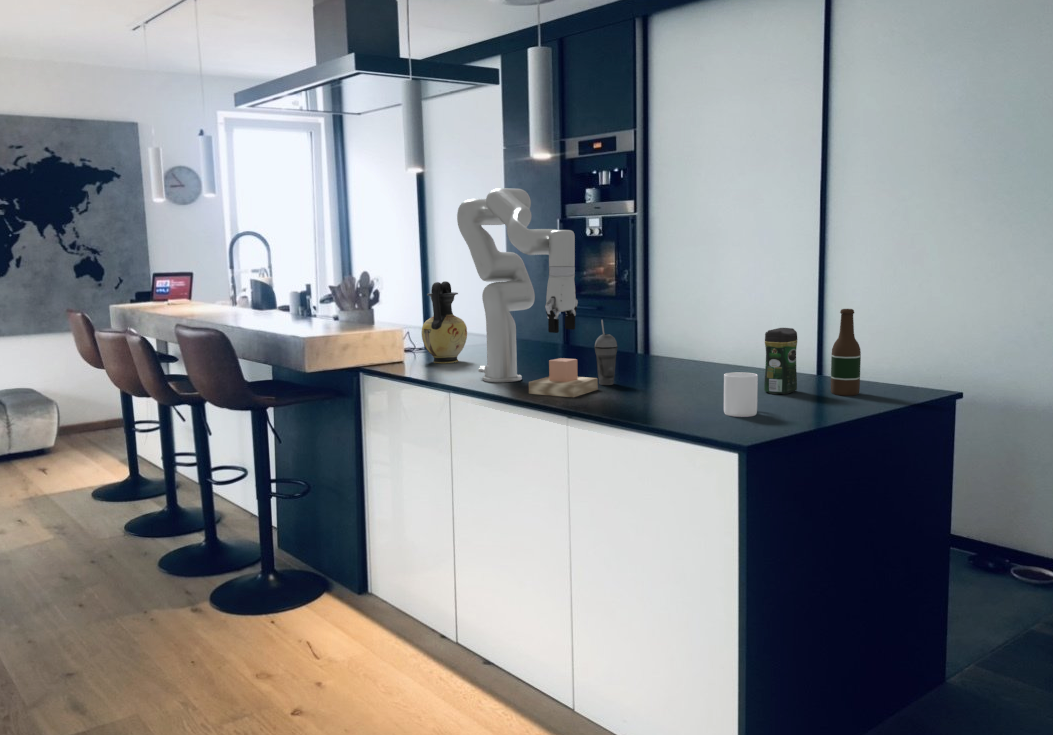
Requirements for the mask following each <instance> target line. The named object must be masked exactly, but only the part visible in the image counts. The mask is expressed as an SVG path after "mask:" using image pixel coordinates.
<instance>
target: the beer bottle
mask: <svg viewBox="0 0 1053 735" xmlns="http://www.w3.org/2000/svg"><path fill="white" fill-rule="evenodd" d="M839 313H840V314H841V315H840V321H839V322H840V324H839V325H840V326H839V333H838V337H837V339H836V340H835V342H834V344H833V346H832V349H831V356H830V357H831V359H830V362H831V364H830V366H831V368H830V393H831V394H833V395H835V396H844V397H848V396H852V397H853V396H857V395H859V394H860V386H861V354H862V353H861V351H862V350H861V347H860V344H859V342H858V340H857V339H856V337H855V331H854V330H855V326H854V314H855V310H854V309H853V308H841V309H840V312H839Z"/></svg>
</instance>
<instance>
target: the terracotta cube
mask: <svg viewBox="0 0 1053 735" xmlns="http://www.w3.org/2000/svg"><path fill="white" fill-rule="evenodd" d="M548 372H549V373H548V374H549V375H548V377H549V381H560V382H568V381H573V380H577V379H578V377H579V376H578V359H576V358H565V357H563V358H562V357H560V358H559V357H558V358H554V359H550V360H548Z"/></svg>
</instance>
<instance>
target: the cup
mask: <svg viewBox="0 0 1053 735" xmlns="http://www.w3.org/2000/svg"><path fill="white" fill-rule="evenodd" d="M758 376H759V375H758V374H757V373H753V372H745V371H743V372H742V371H740V372H739V371H738V372H726V373H724V374H723V413H724V414H725V416H728V417H737V418H748V417H754V416H756V415H757V413H758V385H759V384H758V382H759V381H758Z"/></svg>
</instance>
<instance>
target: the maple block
mask: <svg viewBox="0 0 1053 735" xmlns="http://www.w3.org/2000/svg"><path fill="white" fill-rule="evenodd" d="M598 385H599V379H598V378H597V377H587V376H586V377H585V376H578V379H577V380H573V381H568V382H560V381H549V376H545V377H542V378H539V379H535V380H532V381H528V394H529V395H530V394H531V395H542V396H553V397H566V398H576V397H579V396H582V395H585V394H588V393H591V392H594V391H598Z"/></svg>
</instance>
